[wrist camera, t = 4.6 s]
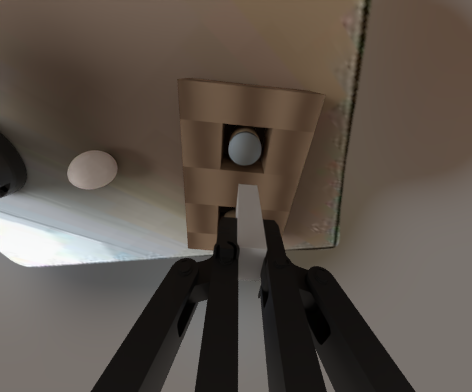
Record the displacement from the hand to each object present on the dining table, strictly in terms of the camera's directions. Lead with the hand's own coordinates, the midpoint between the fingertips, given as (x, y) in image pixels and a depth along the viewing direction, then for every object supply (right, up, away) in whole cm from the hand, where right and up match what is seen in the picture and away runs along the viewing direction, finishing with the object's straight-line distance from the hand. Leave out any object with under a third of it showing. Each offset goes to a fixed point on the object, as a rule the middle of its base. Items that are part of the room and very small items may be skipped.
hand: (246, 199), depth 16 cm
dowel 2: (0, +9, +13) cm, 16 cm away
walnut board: (0, +4, +17) cm, 17 cm away
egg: (-22, +6, +16) cm, 28 cm away
